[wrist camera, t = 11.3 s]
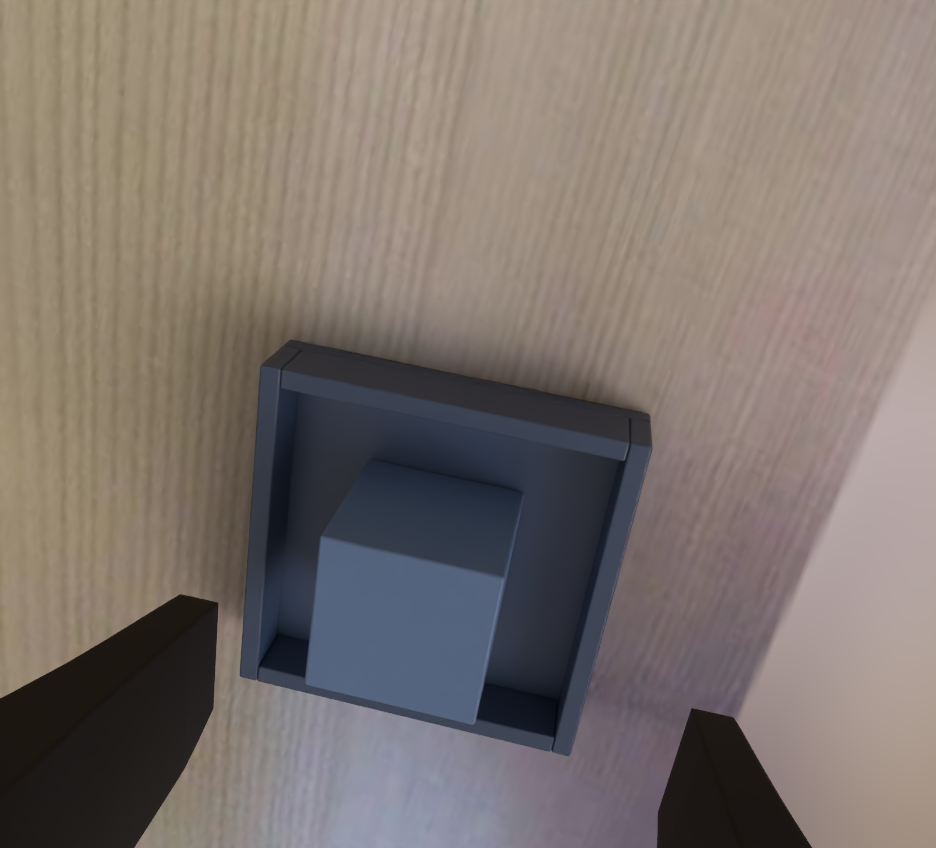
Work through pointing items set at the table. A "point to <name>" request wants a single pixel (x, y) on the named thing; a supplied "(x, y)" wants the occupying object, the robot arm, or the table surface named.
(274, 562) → the blue tray
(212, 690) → the robot arm
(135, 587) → the table surface
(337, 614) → the blue block
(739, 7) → the table surface
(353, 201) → the table surface
